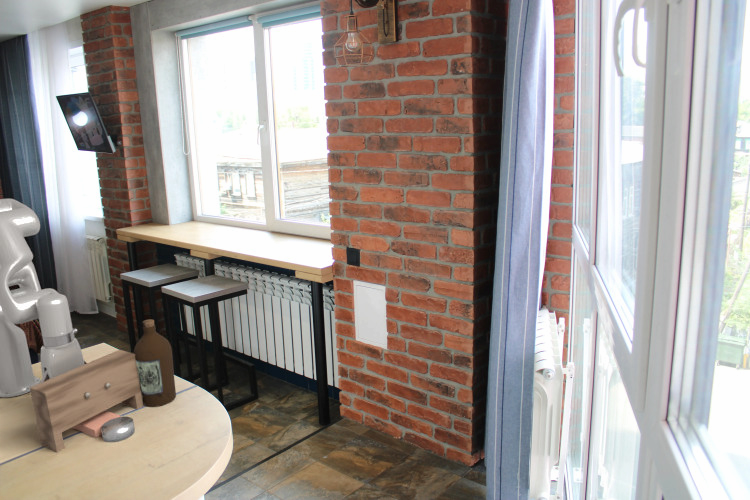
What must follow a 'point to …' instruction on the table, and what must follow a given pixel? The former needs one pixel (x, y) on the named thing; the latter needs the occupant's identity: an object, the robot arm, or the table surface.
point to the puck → (117, 429)
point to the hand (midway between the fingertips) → (69, 397)
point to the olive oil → (155, 367)
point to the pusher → (95, 423)
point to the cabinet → (84, 395)
